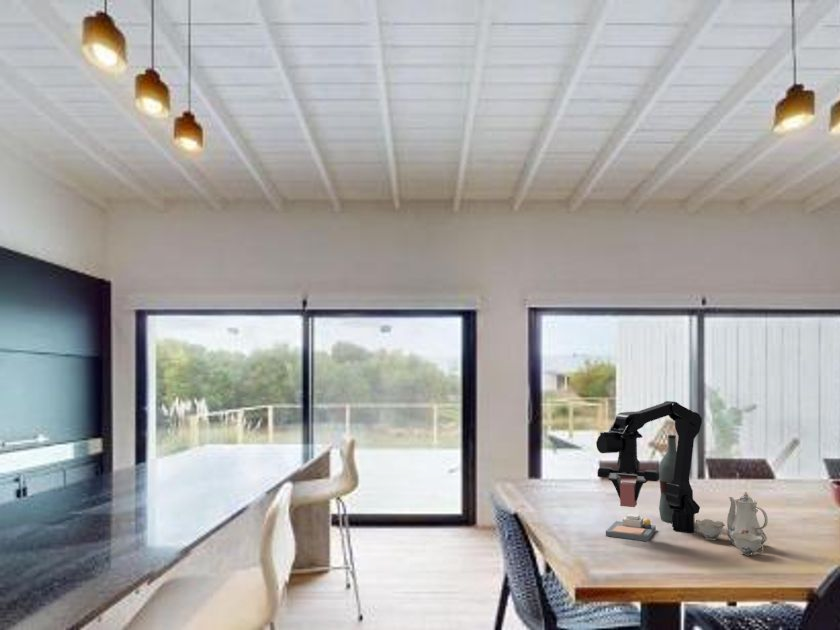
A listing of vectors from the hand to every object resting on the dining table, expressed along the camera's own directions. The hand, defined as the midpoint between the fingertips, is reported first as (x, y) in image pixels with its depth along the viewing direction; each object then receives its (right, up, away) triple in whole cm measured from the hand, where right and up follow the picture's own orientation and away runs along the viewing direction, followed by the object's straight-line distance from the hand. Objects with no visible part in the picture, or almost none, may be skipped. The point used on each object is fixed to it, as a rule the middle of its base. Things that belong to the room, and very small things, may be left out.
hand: (628, 500), depth 224 cm
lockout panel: (+2, -11, +3) cm, 12 cm away
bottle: (+22, -13, +21) cm, 33 cm away
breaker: (+3, -10, +6) cm, 12 cm away
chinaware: (+30, -11, -12) cm, 34 cm away
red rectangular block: (0, -2, 0) cm, 2 cm away
